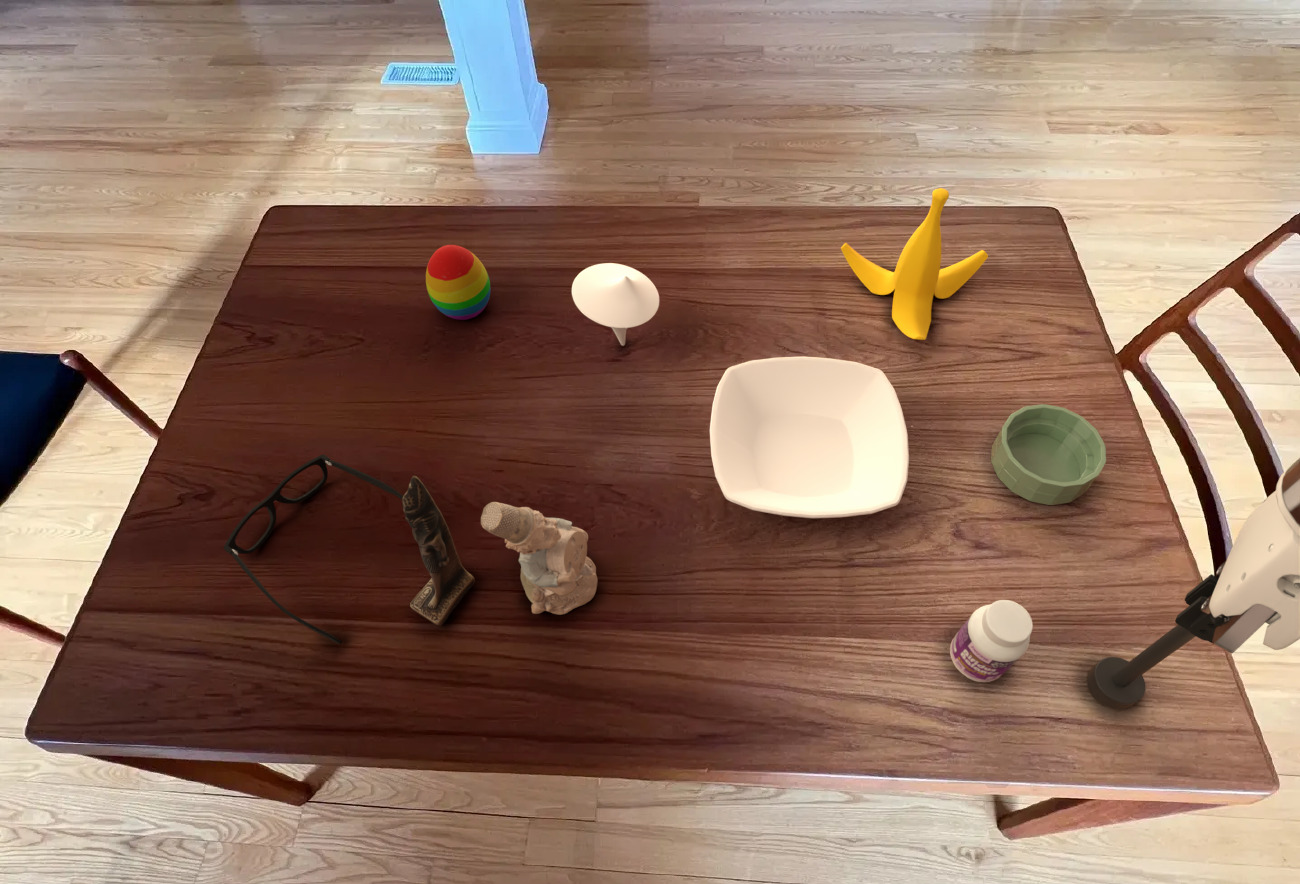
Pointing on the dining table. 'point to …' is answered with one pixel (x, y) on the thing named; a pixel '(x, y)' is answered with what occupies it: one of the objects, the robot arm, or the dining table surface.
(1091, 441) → the green round dish
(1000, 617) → the pill bottle
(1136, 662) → the disc-footed rod
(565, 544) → the figurine
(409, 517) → the statue
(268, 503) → the glasses
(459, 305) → the decorative egg
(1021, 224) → the dining table surface
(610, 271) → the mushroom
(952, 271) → the banana peel
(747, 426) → the bowl
